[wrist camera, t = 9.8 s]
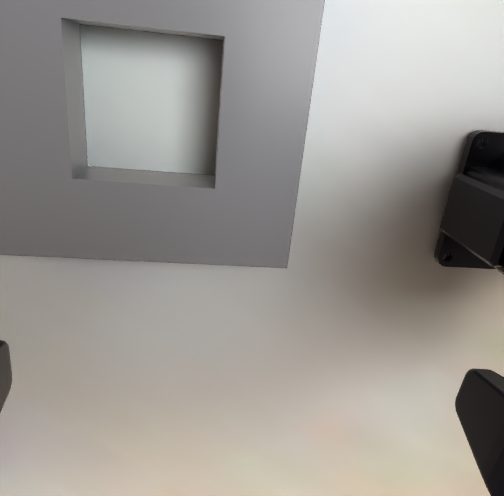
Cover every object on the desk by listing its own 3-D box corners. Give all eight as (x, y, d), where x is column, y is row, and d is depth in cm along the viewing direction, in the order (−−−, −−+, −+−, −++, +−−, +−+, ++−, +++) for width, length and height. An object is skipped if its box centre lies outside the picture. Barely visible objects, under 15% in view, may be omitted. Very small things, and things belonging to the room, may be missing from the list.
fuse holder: (318, -49, 16) (334, -66, 14) (279, 248, 20) (286, 268, 18) (-29, -98, 14) (-68, -125, 12) (14, 234, 19) (-9, 254, 17)
